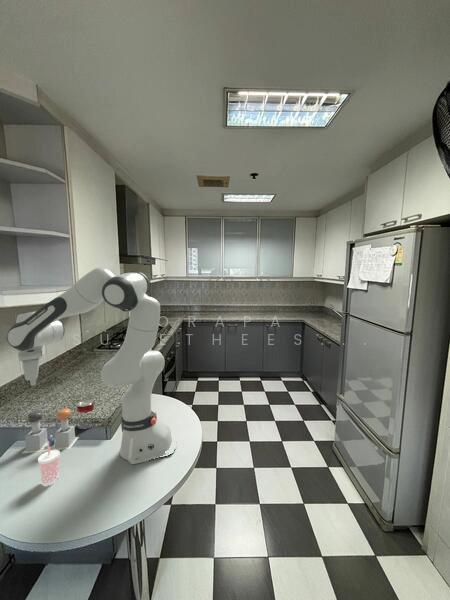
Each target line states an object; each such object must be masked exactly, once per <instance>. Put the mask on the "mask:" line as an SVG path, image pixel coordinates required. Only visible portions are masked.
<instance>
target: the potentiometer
mask: <svg viewBox="0 0 450 600" xmlns="http://www.w3.org/2000/svg"><path fill="white" fill-rule="evenodd" d="M47 440H48V441H49V447H51V446H53V445H55V437H53V435H52V434H50V435H49V438H47Z"/></svg>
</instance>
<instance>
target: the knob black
mask: <svg viewBox="0 0 450 600" xmlns="http://www.w3.org/2000/svg"><path fill="white" fill-rule="evenodd" d="M27 419H28V420H27V422H28V423H31V431H32V435H33V434H39V433H40V429H41V423H40V422H41V421H40V420H42V419H43V411H42V410H34V411H32V412H30V413H28V414H27Z"/></svg>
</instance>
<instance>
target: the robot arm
mask: <svg viewBox="0 0 450 600" xmlns="http://www.w3.org/2000/svg"><path fill="white" fill-rule="evenodd" d="M149 291H150V280H149V278H148V277H147V275H146V274H144V273H143V272H141V271H128V272H123V273H119V274H118V275H115V274H114V273H113V272H112V271H111V270H109V269H107V268H105V267H95V268H94V269H92V270H90V271H89V272H88V273H86V274H85V275H83V276H82V277H81V278H80V279H78V280H77V281H76V282H75V283H74V284H73V285H72V286H71V287H69V288H68V289H67V290H65V291H64V292H63V293H61V294H60V295H58V296H57V297H55V298H53V299H52V300H49V302H47V303H45V304H44V305H43V306H42V307H40V308H39V309H38V310H32V311H25V312H21V313H19V314H18V315H17V317H16V321H15V322H16V323H15V324H13V325H12V326H11V327H10V328H9V330H8V331H7V336H6V340H7V343H8V344H9V346H10V347H12V348H13V349H15V350H17V351H16V353H17V358H18V359H19V361H20V362H21V364H22V369H23V374H24V379H25V381H29V382H30V386H31V387H32V386H37V379H38V377H39V369H40V368H39V367H40V361H41V359H42V358H43V355H45V354H46V347H45V346H46V345H50V344H54V343H57V342H59V341H62V339H63V337H64V336H65V326H64V324H63V323H62V322H61V321H60V319H65V318H67V317H71V316H76V315H81V314H85V313H88V312H90V311H92V310H94V309H96V308H97V307H98V306H99V305H100V304H101V303H102V302H105V303H106V304H107V305H109V306H111V307H113V308H115V309H119V310H120V311H122V312H129V318H128V322H127V328H126V332H125V333H126V334H125V337H124V341H123V343H122V345H121V346H120V348H119V349H118V351H117V352H116V353H115V354H114V356H112V358H110V360H108V361H107V362H106V363H104V365H103V366H102V368H101V371H100V372H101V373H100V375H101V376H100V377H101V380H102V383H103V384H104V385H105V386H106V387H108V388H109V389H114V388H115V389H116V388H121V387H126V386H129V385H130V387H129V388H128V390H127V391H126V392H125V393H124V394H123V396H122V399H121V409H122V410H121V411H122V414H121V415H122V417H121V420H120V425H121V426H120V427H121V433H122V438H121V444H120V448H119V456H120V457H121V458H122V459H124V460H126V461H128V463H129V464H130V465H136V464H140V463H141V464H142V463H145V462H149V460H150V461H152V460H151V459H154V458H157V457H160V456H163V455H166V454H169V453H165V451H167V450H169V448H170V446H171V443H172V437H171V433H172V432H171V429H170V427H169V425H168V424H166V423H164V422H162V421H160V420H159V419H157V417H158V416H157V410H155V412H154V411H152V392H153V388H154V386H155V382H156V380H157V379H158V376H159V375H160V374H161V373H162V372H163V370H164V368H165V362H166V360H165V357H164V355H163V354H162V352H160V351H159V350H152V348H153V347H154V346H155V343H156V339H157V337H158V331H159V325H160V321H161V320H160V319H161V303H160V302H159V301H158V300H157V298H154V297H152V296H149V295H147V293H148V292H149ZM154 460H155V459H154Z"/></svg>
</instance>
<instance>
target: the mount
mask: <svg viewBox="0 0 450 600" xmlns="http://www.w3.org/2000/svg"><path fill="white" fill-rule="evenodd" d="M68 427H69V430H68V431H66V432H61V427H60V428H59V429H58V430H56V432H55V433H54V438H55V445H53V446H51V447H50V451H51V450H59V451H61V450H70V449H71V448H72V447H73V445H74V444H75V443H76V441H77V440H78V439H79V438H80V437H79V436H76V431H75V430H76V429H75V425H68ZM47 428H48V427H42V428H41V427H40V433H39V434H33V435H32V430H30V432H28V433H27V434H26V435H25V437H24V441H25V449H24V450H23V451H22V452H21V453H20V454H21V455H22V454H30V453H31V454H32V453H40V452H47V451H48V443H47V441H48V429H47Z"/></svg>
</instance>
